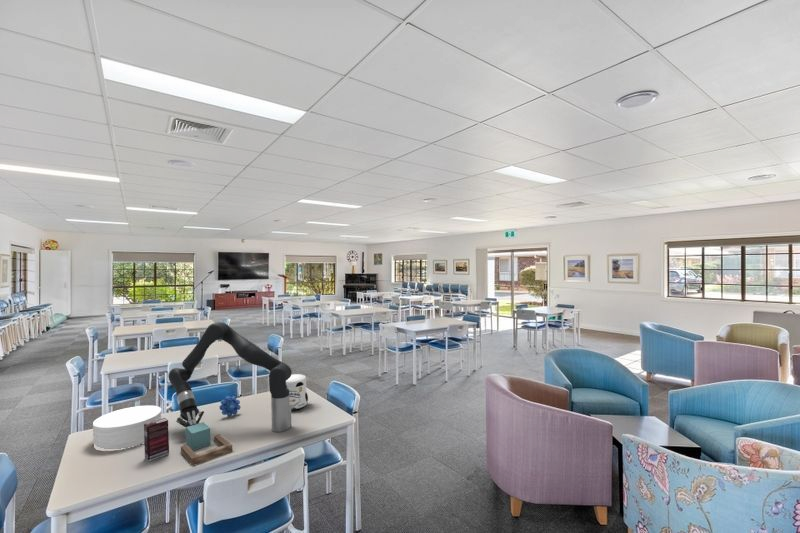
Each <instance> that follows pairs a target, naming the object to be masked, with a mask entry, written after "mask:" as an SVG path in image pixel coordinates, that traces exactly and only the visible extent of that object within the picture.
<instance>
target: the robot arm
mask: <svg viewBox="0 0 800 533" xmlns="http://www.w3.org/2000/svg"><path fill="white" fill-rule="evenodd" d="M219 340H222V341H224V342H225V343H227V344H229V345H230V346H231V348H233V349H234V351H235V353H236V355H237V356H239V358H241V359H242V360H244V361H245V362H246V363H249V364H251V365H254V366H257V367H262V368H264V369H266V370H268V371H269V374H268V385H269V392H270V396H271V398H270V400H271V401H270V403H271V430H272V431H273V432H277V433H279V432H284V431H287V430H289V429H290V428H292V410H291V409H290V397H289V389H288V388H286V380H288V379H289V378H290V377H291V375H293V373H292V372H293V371H292V369H291V367H290V366H289V365H288V364H286V363H285V362H283V361H280V360H279V359H277V358H275V357H274V356H272V355H271V354H270V353H268V352H266V351H265V350H264V349H262V348H260V347H259V346H257V345H256V344H255V343H253V342H252V341H250V340H249V339H247V338H245V337H244V336H243V335H241V334H239V333H238V332H237V331H236V330H234V329H233V328H232V327H231V326H229V325H228V323H225V322H221V321H220V322H213V323H211V324H209V325H208V327H207V328H206V329H205V331H204V333H203V334H202V336H201V338H199V340H198V341H197V343H196V345H195V347H193V349H192V350H191V352H190V353H189V354H187V356H186V357H185V358H184V359H183V361H182V362H181V365H182V367H183V368H179V367H174V368H172V369H170V371H169V373H168V381H169V383H170V384H171V386H172V387H173V389H174V390H175V394H176V398H177V399H176V400H177V404H178V405H177V406H178V408H179V412H180V415H179V417H177V418H176V420H175V422H176V423H177V424H178V425H180V426H182V427H184V428H186V427H188V426H192V425H195V424H199V423H200V421H201V419H202V417H203V415H204V414H205V411H204V410H201V411H200V409H199V408H198V407H197V406H198V405H197V402H196V398H195V394H194V393H193V390H192V386H191V383H189V382H188V381H189V380H190V379H191V377H192V375H193V373H194V371H195V368H196V367H197V366H198V365H199V364H200V362H201V361H202V360H203V359H204V357H205V355H206V352H207V350H208V349H209V347H210V346H211V345H212V344H213V343H214V342H216V341H219ZM197 417H198V418H197Z"/></svg>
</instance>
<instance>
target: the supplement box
mask: <svg viewBox="0 0 800 533" xmlns="http://www.w3.org/2000/svg"><path fill="white" fill-rule="evenodd" d="M169 437H170V435H169V420H168V419H167V418H166V417H164V418H162V417H161V419H159V420H156V421H152V422H149V423H146V424H144V444H143V445H144V459H145V460H146V461H147V460H148V461H149V462H151V461H150V460H152V461H154V460H157V459H160V458H163V457H165V456H167V455H169V454H170V438H169ZM159 457H160V458H159ZM156 458H157V459H156ZM148 461H147V462H148Z"/></svg>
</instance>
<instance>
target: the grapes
mask: <svg viewBox="0 0 800 533" xmlns="http://www.w3.org/2000/svg"><path fill="white" fill-rule="evenodd" d="M240 403H241V401H240V400H239V399H237V397H236V396H234V395H233V396H229V395H227V396H225V398H224V399H222V400H220V404H221V405H220V406H219V410H221V414H222V415H223V416H225V415H226V416H227V417H230V418H231V417H232V416H233V415H234V416H235V415H237V414H238V411H239V410H240V409H241V405H240Z"/></svg>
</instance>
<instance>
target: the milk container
mask: <svg viewBox="0 0 800 533" xmlns="http://www.w3.org/2000/svg"><path fill="white" fill-rule="evenodd" d="M286 388H288V389H289V397H290V409H291V411H296V410H300V409H302V408H304V407H306V405H308V401H309V394H308V392H307V377H306V375H304V374H300V373H299V374H298V373H297V374H295V373H294V374H293V373H292V374H291V377H290V378H289V379H288V380H286Z"/></svg>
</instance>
